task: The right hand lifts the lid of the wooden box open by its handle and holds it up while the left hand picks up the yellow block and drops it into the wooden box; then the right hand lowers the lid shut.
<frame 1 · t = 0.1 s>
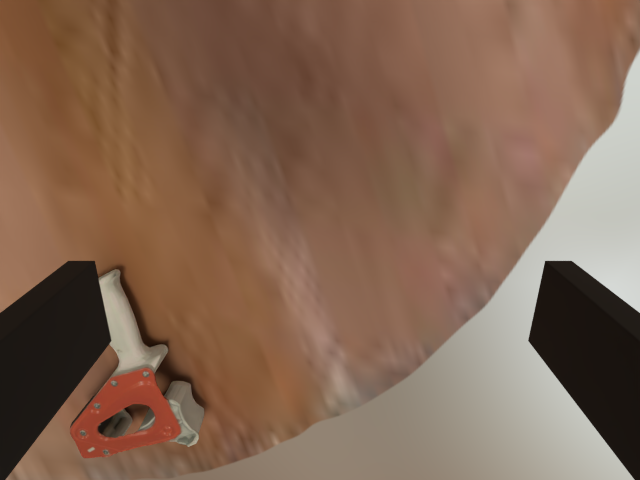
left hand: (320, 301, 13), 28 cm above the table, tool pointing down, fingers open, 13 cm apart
tape dispenser: (145, 363, 48), on the table
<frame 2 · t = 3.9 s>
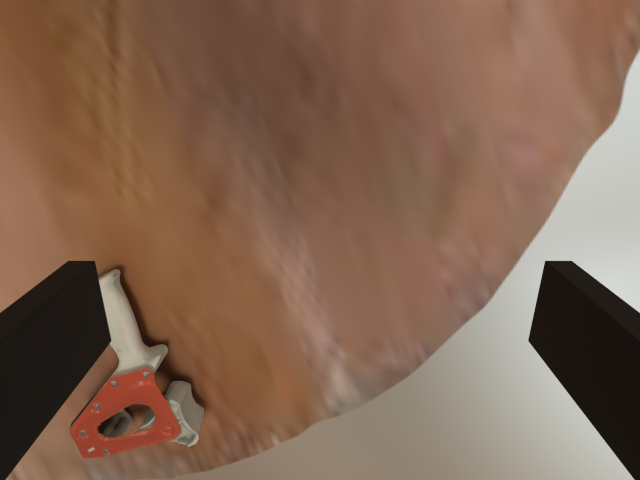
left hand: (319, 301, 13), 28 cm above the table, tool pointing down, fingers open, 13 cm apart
tape dispenser: (145, 363, 48), on the table
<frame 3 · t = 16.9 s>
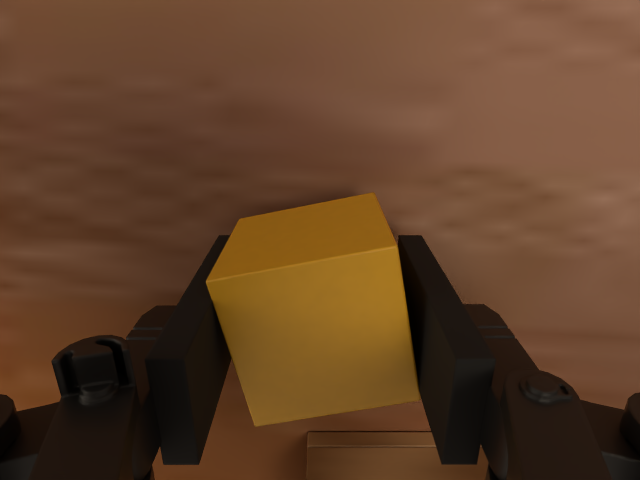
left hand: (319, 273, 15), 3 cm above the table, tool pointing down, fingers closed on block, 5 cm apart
block: (319, 266, 15), point 2 cm above the table, touching left hand
when the left hand's fingers open (16 cm above the table, at t = 19.9 s): block drops 15 cm, resting on wooden box.
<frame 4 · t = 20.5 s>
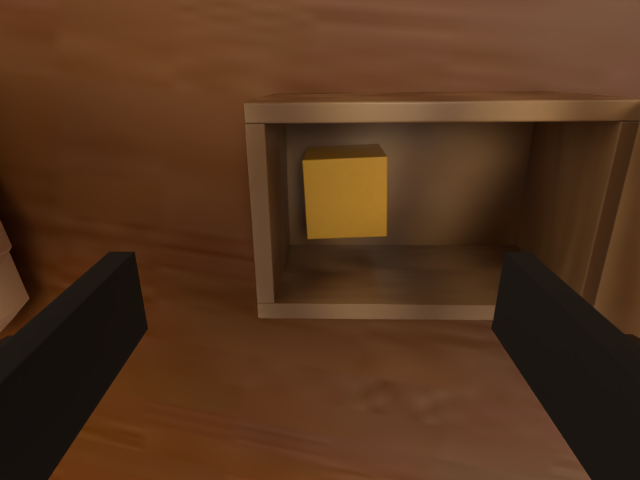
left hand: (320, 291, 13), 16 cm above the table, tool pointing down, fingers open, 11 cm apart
block: (344, 180, 28), point 1 cm above the table, touching wooden box
wooden box: (403, 177, 29), on the table, touching block
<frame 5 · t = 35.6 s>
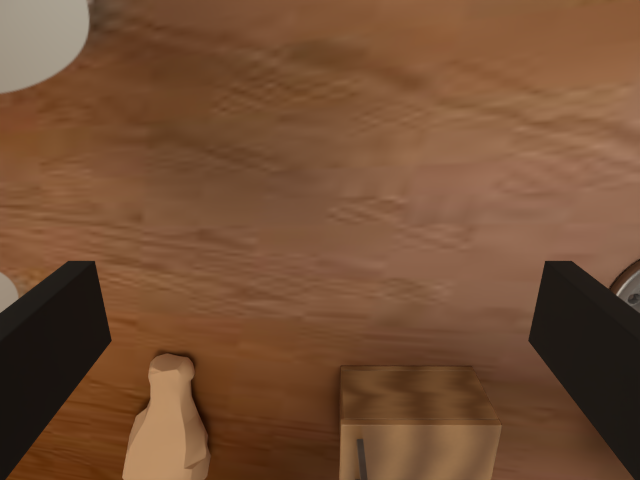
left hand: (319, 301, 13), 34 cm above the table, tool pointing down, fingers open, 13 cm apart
wooden box: (403, 398, 58), on the table, touching block
squash: (176, 408, 58), on the table
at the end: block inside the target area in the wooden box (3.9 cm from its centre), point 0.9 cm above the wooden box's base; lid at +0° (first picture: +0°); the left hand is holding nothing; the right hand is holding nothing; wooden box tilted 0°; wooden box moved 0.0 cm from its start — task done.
